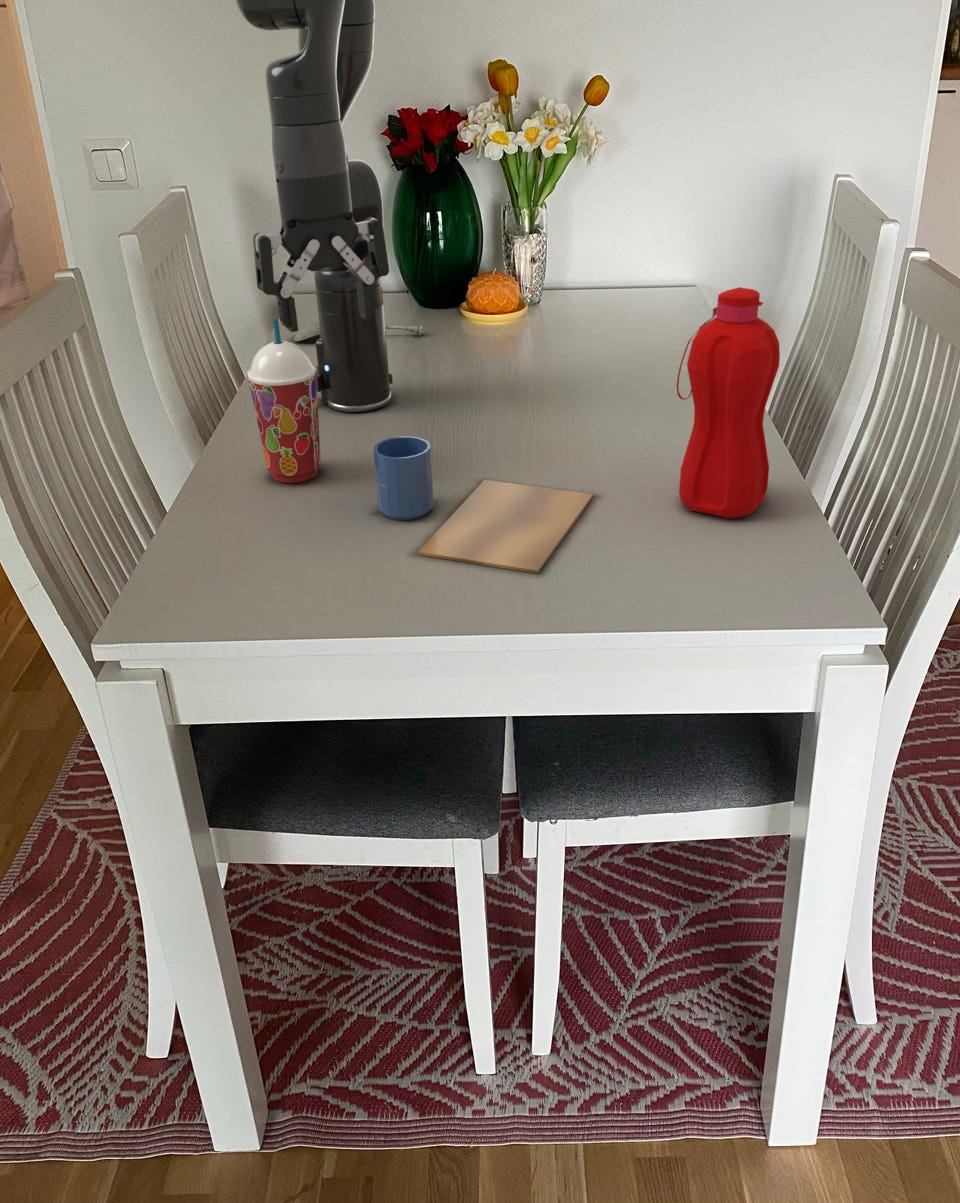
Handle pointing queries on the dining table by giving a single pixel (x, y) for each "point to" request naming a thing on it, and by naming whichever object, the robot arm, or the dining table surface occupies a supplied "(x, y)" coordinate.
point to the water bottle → (729, 408)
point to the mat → (508, 526)
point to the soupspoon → (314, 330)
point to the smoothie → (286, 409)
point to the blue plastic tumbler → (404, 477)
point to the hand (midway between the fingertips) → (329, 323)
